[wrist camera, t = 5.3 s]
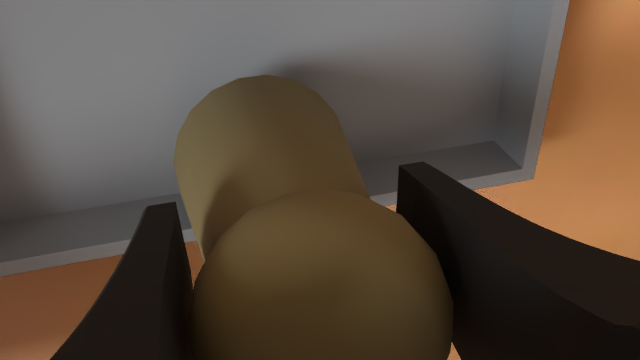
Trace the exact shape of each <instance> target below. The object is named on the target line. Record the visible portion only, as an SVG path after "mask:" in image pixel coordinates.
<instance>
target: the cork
mask: <svg viewBox="0 0 640 360" xmlns="http://www.w3.org/2000/svg"><path fill="white" fill-rule="evenodd" d="M173 163H174V168H175V173H176V178H177V184H178V188H179V191H180V194H181V197H182V200H183V203H184V206H185V209H186V212H187V215H188V217H189V220H190V223H191V226H192V229H193V232H194V235H195V238H196V241H197V244H198V247H199V250H200V253H201V256H202V259H203V261H204V265H203V266H202V268H201V270H200V272H199V275H198V277H197V279H196V281H195V285H194V290H193V296H192V301H191V307H190V312H189V318H188V338H189V343H190V348H191V353H192V358H193V360H447V358H448V356H449V353H450V349H451V343H452V337H453V304H454V302H453V299H452V296H451V293H450V290H449V287H448V284H447V281H446V279H445V276H444V273H443V271H442V268H441V265H440V263H439V260H438V257H437V254H436V253H435V252H434V251H433V250H432V248H431V247H430V246H429V245H428V244H427V243H426V241H425V240H424V239H423V238H422V237H421V236H420V235H419V234H418V233H417V232H416V231H415V229H414V228H413V227H412V226H411V225H410V224H409V223H408V222H407V221H406V220H405V219H404V217H403V216H402V215H400V214H398V213H396V212H394V211H392V210H390V209H388V208H386V207H384V206H382V205H380V204H378V203H376V202H374V201H372V200H371V199H370V196H369V194H368V191H367V189H366V186H365V184H364V181H363V179H362V176H361V174H360V172H359V169H358V167H357V164H356V162H355V159H354V157H353V154H352V152H351V149H350V147H349V144H348V142H347V139H346V137H345V134H344V132H343V129H342V127H341V125H340V122H339V120H338V117H337V115H336V113H335V112H334V110H333V109H332V108H331V107H330V106H329V105H328V104H327V103H326V101H325V100H324V99H323V98H322V97H321V96H320V95H319V94H318V93H317V92H315V91H313V90H311V89H310V88H308V87H306V86H304V85H303V84H301V83H299V82H297V81H295V80H292V79H287V78H282V77H276V76H271V75H260V76H252V77H244V78H238V79H235V80H233V81H231V82H229V83H227V84H225V85H223V86H220V87H218V88H216V89H214V90H212V91H211V92H210V93H209V94H207V95H206V96H205V97H204V98H203V99H202V100H201V101H200V102H199V103H198V104H197V105H196V106H195V107H194V108H192V109H191V110H190V112H189V114H188V116H187V118H186V120H185V122H184V124H183V125H182V127H181V129H180V131H179V133H178V135H177V141H176V147H175V154H174V160H173Z"/></svg>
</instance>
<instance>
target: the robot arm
mask: <svg viewBox="0 0 640 360" xmlns="http://www.w3.org/2000/svg"><path fill="white" fill-rule="evenodd" d="M396 213H398V214H400V215H402V216H403V217H404V219H405V220H406V221H407V222H408V223H409V224H410V225H411V226H412V227H413V228H414V229H415V231H416V232H417V233H418V234H419V235H420V236H421V237H422V238H423V239H424V240H425V241H426V243H427V244H428V245H429V246H430V247H431V248H432V250H433V251H434V252H435V253H436V254H437V257H438V260H439V263H440V265H441V268H442V271H443V273H444V276H445V279H446V281H447V284H448V287H449V290H450V293H451V296H452V299H453V302H454V304H453V337H452V343H453V345H454V346H455V348H456V350H457V352H458V354H459V356H460V358H461V360H640V261H637V260H634V259H630V258H627V257H623V256H620V255H617V254H613V253H610V252H607V251H604V250H601V249H598V248H595V247H592V246H589V245H586V244H584V243H581V242H578V241H575V240H573V239H570V238H568V237H565V236H563V235H560V234H558V233H556V232H553V231H551V230H548V229H546V228H544V227H541V226H539V225H537V224H535V223H533V222H531V221H528V220H526V219H524V218H522V217H520V216H519V215H517V214H515V213H513V212H511V211H509V210H507V209H505V208H503V207H501V206H499V205H497V204H496V203H494V202H492V201H490V200H488V199H487V198H485V197H483V196H481V195H480V194H478V193H476V192H474V191H473V190H471V189H469V188H468V187H466V186H464V185H463V184H461V183H459V182H458V181H456V180H454V179H453V178H451V177H449V176H448V175H446V174H444V173H443V172H441V171H439V170H438V169H436V168H434V167H433V166H431V165H429V164H427V163H425V162H423V161H422V162H416V163H410V164H404V165H399V170H398V189H397V207H396ZM192 296H193V287H192V278H191V270H190V265H189V261H188V256H187V251H186V247H185V242H184V237H183V233H182V228H181V224H180V219H179V214H178V210H177V205H176V201H175V202H169V203H163V204H157V205H150V206H147V207H146V208H145V210H144V211H143V213H142V216H141V218H140V221H139V223H138V226H137V228H136V230H135V232H134V235H133V237H132V239H131V241H130V243H129V245H128V247H127V249H126V251H125V253H124V254H123V256H122V258H121V260H120V262H119V264H118V266H117V267H116V269H115V271H114V273H113V274H112V276H111V278H110V279H109V281H108V282H107V284H106V286H105V287H104V289H103V290H102V292H101V294H100V295H99V297H98V298H97V300H96V301H95V303H94V304H93V306H92V307H91V309H90V310H89V312H88V313H87V314H86V316H85V317H84V318H83V320H82V321H81V322H80V324H79V325H78V326H77V328H76V329H75V330H74V332H73V333H72V334H71V335H70V337H69V338H68V339H67V340H66V341H65V343H64V344H63V345H62V346H61V347H60V348H59V350H58V351H57V352H56V353H55V354H54V355H53V357H52V358H51V359H50V360H193V358H192V353H191V348H190V343H189V338H188V318H189V312H190V307H191V301H192Z"/></svg>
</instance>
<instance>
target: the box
mask: <svg viewBox="0 0 640 360" xmlns="http://www.w3.org/2000/svg"><path fill="white" fill-rule="evenodd" d="M569 2H570V0H0V277H2V276H7V275H13V274H18V273H24V272H29V271H34V270H40V269H45V268H51V267H56V266H62V265H67V264H73V263H78V262H84V261H89V260H94V259H100V258H105V257H111V256H116V255H122V254H124V253H125V251H126V249H127V247H128V245H129V243H130V241H131V239H132V237H133V235H134V232H135V230H136V228H137V226H138V223H139V221H140V218H141V216H142V213H143V211H144V210H145V208H146V207H147V206H150V205H157V204H163V203H169V202H175V201H176V205H177V210H178V214H179V219H180V224H181V228H182V233H183V237H184V242H185V243H187V242H193V241H196V238H195V235H194V232H193V229H192V226H191V223H190V220H189V217H188V215H187V212H186V209H185V206H184V203H183V200H182V197H181V194H180V191H179V188H178V184H177V178H176V173H175V168H174V163H173V160H174V154H175V147H176V141H177V135H178V133H179V131H180V129H181V127H182V125H183V124H184V122H185V120H186V118H187V116H188V114H189V112H190V110H191V109H192V108H194V107H195V106H196V105H197V104H198V103H199V102H200V101H201V100H202V99H203V98H204V97H205V96H206V95H207V94H209V93H210V92H211V91H212V90H214V89H216V88H218V87H220V86H223V85H225V84H227V83H229V82H231V81H233V80H235V79H238V78H244V77H252V76H260V75H271V76H276V77H282V78H287V79H292V80H295V81H297V82H299V83H301V84H303V85H304V86H306V87H308V88H310V89H311V90H313V91H315V92H317V93H318V94H319V95H320V96H321V97H322V98H323V99H324V100H325V101H326V103H327V104H328V105H329V106H330V107H331V108H332V109H333V110H334V112H335V113H336V115H337V117H338V120H339V122H340V125H341V127H342V129H343V132H344V134H345V137H346V139H347V142H348V144H349V147H350V149H351V152H352V154H353V157H354V159H355V162H356V164H357V167H358V169H359V172H360V174H361V176H362V179H363V181H364V184H365V186H366V189H367V191H368V194H369V196H370V199H371V200H372V201H374V202H376V203H378V204H380V205H382V206H389V205H394V204H397V189H398V170H399V165H404V164H410V163H416V162H422V161H423V162H425V163H427V164H429V165H431V166H433V167H434V168H436V169H438V170H439V171H441V172H443V173H444V174H446V175H448V176H449V177H451V178H453V179H454V180H456V181H458V182H459V183H461V184H463V185H464V186H466V187H468V188H469V189H471V190H476V189H482V188H487V187H493V186H498V185H503V184H509V183H514V182H520V181H525V180H531V179H534V174H535V169H536V164H537V159H538V155H539V150H540V145H541V140H542V135H543V130H544V125H545V120H546V115H547V110H548V105H549V100H550V96H551V91H552V86H553V81H554V76H555V71H556V66H557V61H558V56H559V51H560V46H561V42H562V37H563V32H564V27H565V22H566V17H567V12H568V7H569Z"/></svg>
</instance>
